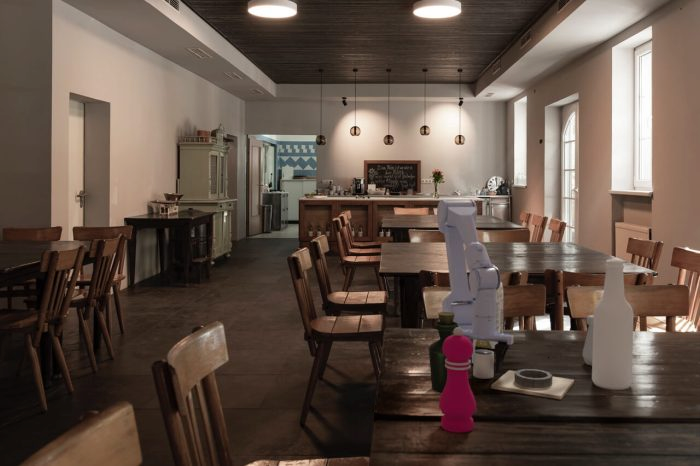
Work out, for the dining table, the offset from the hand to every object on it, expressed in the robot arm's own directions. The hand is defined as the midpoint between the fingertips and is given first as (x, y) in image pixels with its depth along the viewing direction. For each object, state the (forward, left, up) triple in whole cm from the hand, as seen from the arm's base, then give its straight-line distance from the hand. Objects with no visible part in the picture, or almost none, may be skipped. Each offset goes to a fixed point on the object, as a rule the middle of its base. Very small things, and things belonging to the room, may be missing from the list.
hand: (483, 368), depth 161 cm
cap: (0, 0, -2) cm, 2 cm away
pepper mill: (+7, -36, -2) cm, 37 cm away
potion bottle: (-4, -15, -2) cm, 16 cm away
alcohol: (+29, +8, -2) cm, 30 cm away
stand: (+13, -2, -2) cm, 13 cm away
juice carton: (-9, +30, -2) cm, 31 cm away
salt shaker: (+22, +25, -2) cm, 33 cm away
